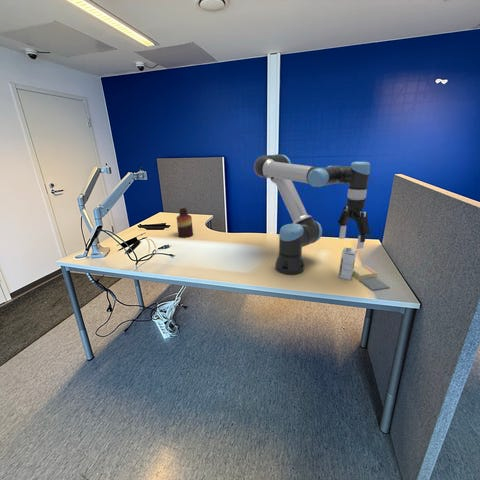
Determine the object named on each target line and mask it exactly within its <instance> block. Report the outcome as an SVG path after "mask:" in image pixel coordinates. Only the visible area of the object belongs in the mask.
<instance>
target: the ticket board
mask: <svg viewBox="0 0 480 480" xmlns="http://www.w3.org/2000/svg"><path fill="white" fill-rule="evenodd" d="M352 277H354V278H355V279H357V280H358V281H359V280H363V279H370V278H378V272H376V271H375V270H373V269H372V268H370V267H369V266H367V265H365V264H362V265H357V266H355V265H354V269H353V275H352Z"/></svg>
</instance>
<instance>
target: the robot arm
mask: <svg viewBox="0 0 480 480" xmlns="http://www.w3.org/2000/svg"><path fill="white" fill-rule="evenodd" d="M253 171H254V173H255V174H256V176H258V177H260V178H265V179H270V181H271V183H272V184H275V185H276V187H277V189H278V192H279V193H280V196H281V198H282V201H283V203H284V205H285V207H286V210H287V211H288V213H289V216H290V218H291V220H292V223H287V224H284V225H283V226H281V228H280V230H279V233H278V235H279V236H278V238H279V239H278V240H279V241H278V246H279V247H278V256H277V259H276V261H275V264H274V268H275V270H276V271H277V272H279V273H280V274H284V275H299V274H301V273H303V272H304V271H305V264H304V259H303V256H302V253H303V252H302V251H303V247H307V246H309V245H311V244H312V245H313V244H314V243H316V242H318V241H319V240H320V239H321V238H322V235H323V228H322V226H321V224H320V223H319V222H318V221H317V220H314V218H313V217H312V215H309V214H308V213H307V211H306V208H305V206H304V204H303V202H302V200H301V198H300V195H299V194H298V191H297V189H296V187H295V184H294V183H293V182H297V183H298V182H299V183H305V184H308V185H310V186H311V187H314V188H321V187H323V186H328V185H334V184H347V185H348V189H347V199H346V205H344V206H343V209H342V212H341V214H340V215H339V217H338V220H337V223H338V224H339V237H338V238H339V240H341V239H343V240H344V239H346V234H347V223H349V221H350V220H351V219H352V220H353V221H354V222H355V223H356V226H357V228H358V231H359V234H358V237H357V243H356V250H361V249H364V247H365V246H364V245H365V241H366V236H368V235H369V236H370V235H371V231H370V226H369V225H370V224H369V220H368V211H363V209H364V208H365V206H366V197H367V192H368V185H369V179H370V174H371V172H370V171H371V163H370V162H368V161H353V162H352V163H351V164H350V165H349V166H346V165H345V166H344V165H328V166H326V167H317V166H310V165H303V164H295V163H291V160H290V159H289V157H288V156H286V154H285V155H284V154H279V153H278V154H277V153H276V154H270V155H269V154H268V155H266V154H265V155H260V156H259V157H258V158H256V160H255V161H254V164H253Z"/></svg>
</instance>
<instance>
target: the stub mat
mask: <svg viewBox="0 0 480 480" xmlns="http://www.w3.org/2000/svg"><path fill="white" fill-rule="evenodd" d="M358 282H360V283H361V284H362V283H363V284H362V285H364V286H365V287H366V286H367V287H366V288H367V289H369V290H370V291H372V292H373V291H381V290H386V289H390V286H389V285H387V284H386V283H385V282H383V281H381V280H380V279H378V277H376V278H369V279H362V280H358Z"/></svg>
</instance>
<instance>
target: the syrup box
mask: <svg viewBox="0 0 480 480" xmlns="http://www.w3.org/2000/svg"><path fill="white" fill-rule="evenodd" d="M357 250H358V249H357V248H352V247H343V250H342V252H341V257H340V264H339V270H338V271H339V273H338V278H339V279H344V280H348V281H351V280H352V277H353V269H354V267H355V262H356V257H357Z"/></svg>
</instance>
